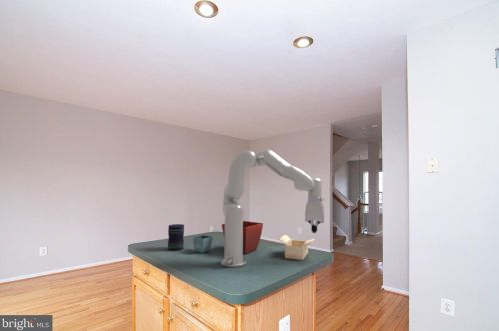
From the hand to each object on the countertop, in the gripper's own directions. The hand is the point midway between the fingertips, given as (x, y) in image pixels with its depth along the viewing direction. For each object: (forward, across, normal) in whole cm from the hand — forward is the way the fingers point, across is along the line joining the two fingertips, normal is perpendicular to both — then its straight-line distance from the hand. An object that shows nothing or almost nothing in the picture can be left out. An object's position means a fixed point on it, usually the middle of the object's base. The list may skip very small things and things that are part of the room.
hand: (314, 232), depth 138 cm
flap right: (+6, +3, -1) cm, 6 cm away
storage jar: (+17, +84, +16) cm, 87 cm away
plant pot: (+16, +43, +3) cm, 46 cm away
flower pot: (+16, +65, +14) cm, 68 cm away
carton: (+14, +10, -1) cm, 17 cm away
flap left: (+6, +17, -1) cm, 18 cm away
